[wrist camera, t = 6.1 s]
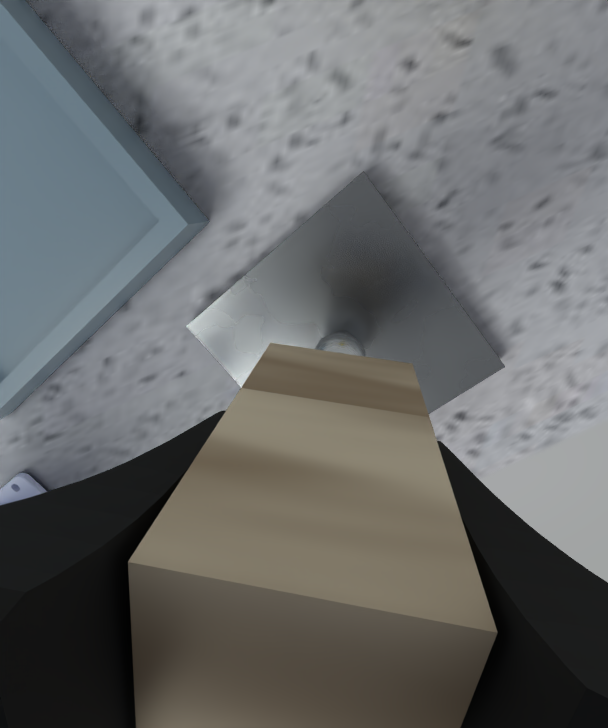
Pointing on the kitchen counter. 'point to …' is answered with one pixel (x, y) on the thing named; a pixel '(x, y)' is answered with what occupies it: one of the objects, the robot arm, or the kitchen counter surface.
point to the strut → (311, 562)
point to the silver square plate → (350, 301)
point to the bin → (70, 206)
